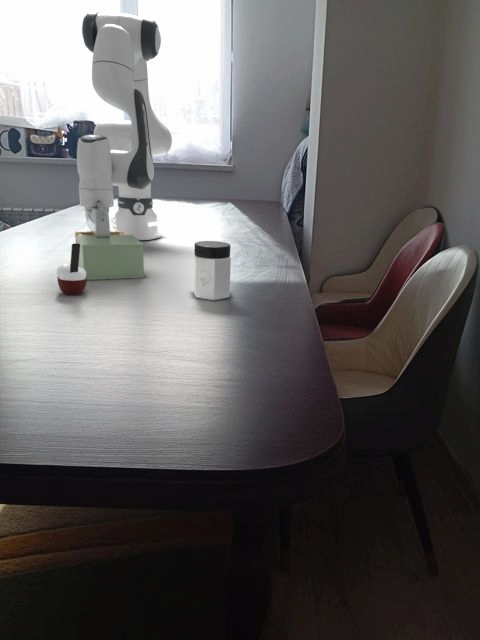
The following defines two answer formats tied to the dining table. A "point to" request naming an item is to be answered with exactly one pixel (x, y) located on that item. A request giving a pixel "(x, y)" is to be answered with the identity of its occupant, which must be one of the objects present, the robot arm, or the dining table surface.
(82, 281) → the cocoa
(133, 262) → the pale green box
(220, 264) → the jar
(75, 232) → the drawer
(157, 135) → the robot arm
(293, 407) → the dining table surface
